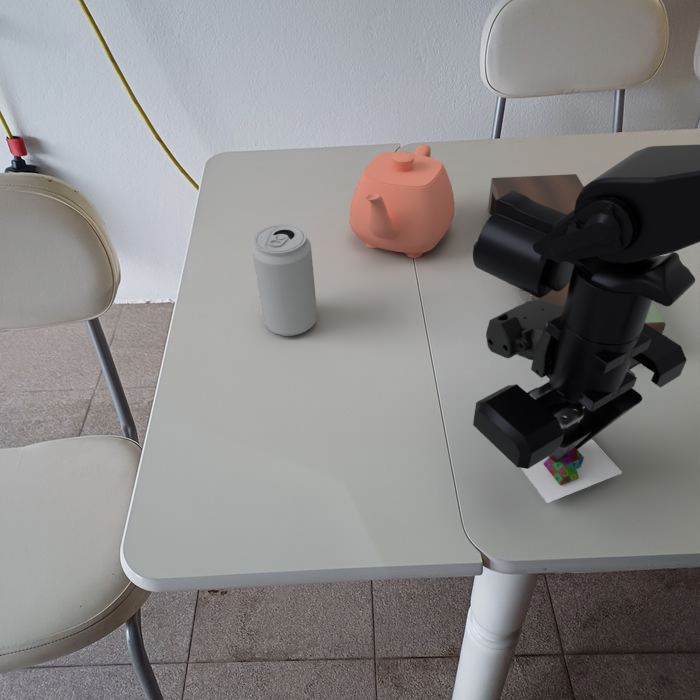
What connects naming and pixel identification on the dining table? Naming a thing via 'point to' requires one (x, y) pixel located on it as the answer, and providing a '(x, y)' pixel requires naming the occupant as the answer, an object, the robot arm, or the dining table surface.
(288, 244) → the beverage can
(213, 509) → the dining table surface
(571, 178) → the shelf
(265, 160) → the dining table surface
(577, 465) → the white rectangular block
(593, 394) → the robot arm
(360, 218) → the teapot
